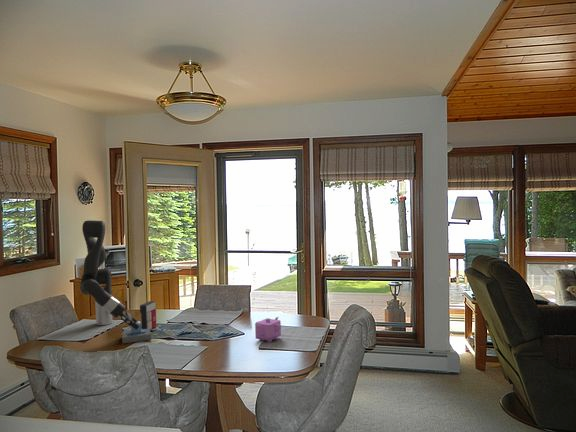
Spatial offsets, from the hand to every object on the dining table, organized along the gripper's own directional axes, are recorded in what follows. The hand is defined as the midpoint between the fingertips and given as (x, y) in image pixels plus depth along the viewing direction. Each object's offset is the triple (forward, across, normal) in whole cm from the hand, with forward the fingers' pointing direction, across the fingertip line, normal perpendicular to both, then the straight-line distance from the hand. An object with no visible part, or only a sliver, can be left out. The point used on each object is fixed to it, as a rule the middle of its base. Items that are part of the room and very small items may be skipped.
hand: (137, 326), depth 238 cm
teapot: (+49, -31, -40) cm, 71 cm away
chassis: (+4, 0, +5) cm, 7 cm away
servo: (+4, 0, +5) cm, 7 cm away
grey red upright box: (+9, +16, 0) cm, 18 cm away
